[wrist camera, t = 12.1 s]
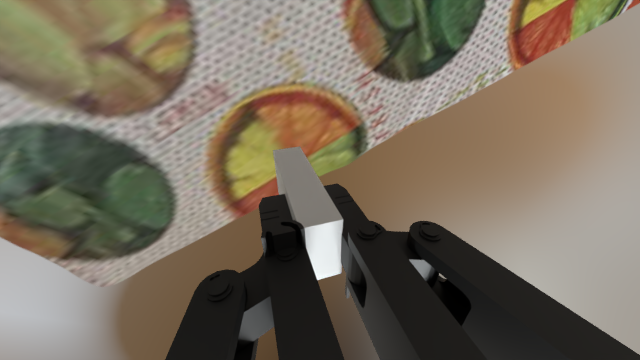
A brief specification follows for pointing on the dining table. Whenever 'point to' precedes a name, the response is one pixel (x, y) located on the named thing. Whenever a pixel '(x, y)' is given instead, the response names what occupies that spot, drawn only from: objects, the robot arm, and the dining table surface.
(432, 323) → the robot arm
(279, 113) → the dining table surface
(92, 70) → the dining table surface
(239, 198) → the dining table surface
